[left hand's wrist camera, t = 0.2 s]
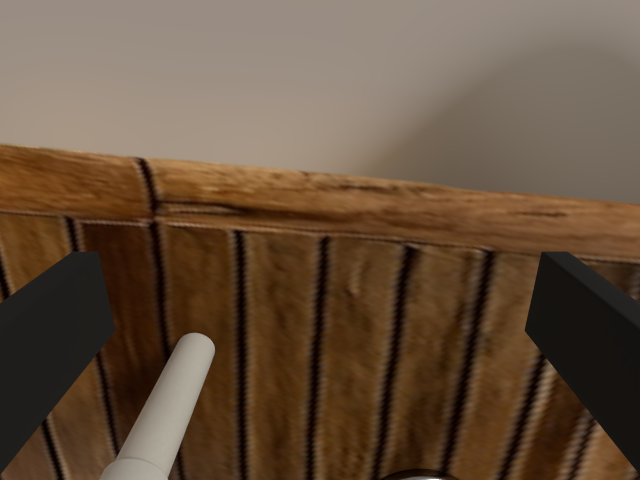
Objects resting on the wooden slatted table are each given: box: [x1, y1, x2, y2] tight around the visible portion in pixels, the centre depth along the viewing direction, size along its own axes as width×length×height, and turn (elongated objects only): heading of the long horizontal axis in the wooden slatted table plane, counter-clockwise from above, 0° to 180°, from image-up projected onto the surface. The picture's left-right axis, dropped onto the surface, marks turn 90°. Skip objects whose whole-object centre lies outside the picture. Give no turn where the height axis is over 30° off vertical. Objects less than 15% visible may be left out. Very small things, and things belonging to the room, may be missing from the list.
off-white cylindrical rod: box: [115, 333, 215, 478], centre depth 38 cm, size 4×4×18 cm
